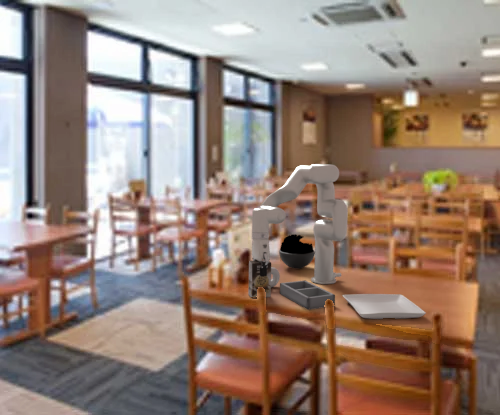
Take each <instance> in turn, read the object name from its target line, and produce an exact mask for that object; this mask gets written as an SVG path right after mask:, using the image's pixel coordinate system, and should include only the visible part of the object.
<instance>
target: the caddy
mask: <svg viewBox="0 0 500 415" xmlns="http://www.w3.org/2000/svg"><path fill="white" fill-rule="evenodd" d="M279 294H280V295H281V296H283V297H285V298H287V299H288V300H290V301H292V302H293V303H295V304H297V305H299V306H300V307H302V308H304V309H306V310H315V309H316V310H317V309H325V308H324V305H325V301H326V300H327V299H330V300H332V301H333V303H334V305H335V304H336V294H335V293H333V292H330V291H328V290H326V289H324V288H322V287H320V286H318V285H316V284H315V283H313V282H309V281H308V280H306V279H305V280H297V281H289V282H288V281H287V282H280V283H279Z"/></svg>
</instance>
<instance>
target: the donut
mask: <svg viewBox="0 0 500 415" xmlns="http://www.w3.org/2000/svg"><path fill="white" fill-rule="evenodd" d="M271 276H272V277H271V288H273V287H276V286H277V284H278V283H279V281H280V272H279V270H278V269H277V268H276V267H272V266H271Z"/></svg>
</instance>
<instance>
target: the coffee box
mask: <svg viewBox="0 0 500 415" xmlns="http://www.w3.org/2000/svg"><path fill="white" fill-rule="evenodd" d="M262 261H264V260H262ZM263 263H265V262H262V264H263ZM271 267H272V262H271V261H270V260H269V262H268V265H267V276H262V277H261V276H260V268H261V265H260V261H257V260H255V261H253V260H249V262H248V296H249V297H250V298H251V297H256V296H257V289H258V287H263V288H264V289H265V292H266V297H265V298H271V294H272V289H271V288H272V287H271V280H272V274H271Z"/></svg>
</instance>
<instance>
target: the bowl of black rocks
mask: <svg viewBox="0 0 500 415" xmlns="http://www.w3.org/2000/svg"><path fill="white" fill-rule="evenodd" d="M304 237H305V236H303V235H300V234H298V235H297V233H296V234H294V233H293V234H288V235H287V236H286V237H284V238H283V241H282V242H281V245H280V249H278V252H279V253H278V254H279V257H280V259H281V261H282V262H283V264H285V265H286V266H287V267H288V268H291V269H295V270H297V269H298V270H299V269H303V268H305V267H307V266H309V265H310V264H311V262H313V259H315V249H314V247H313V244H312V243H309V242H303V241H301V239H303V238H304Z"/></svg>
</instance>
